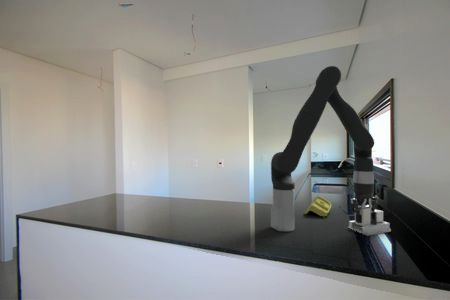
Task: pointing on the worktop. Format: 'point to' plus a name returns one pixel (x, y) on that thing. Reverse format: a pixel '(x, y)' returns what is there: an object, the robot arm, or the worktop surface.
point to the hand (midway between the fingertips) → (363, 221)
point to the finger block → (365, 216)
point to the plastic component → (319, 206)
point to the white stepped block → (372, 225)
